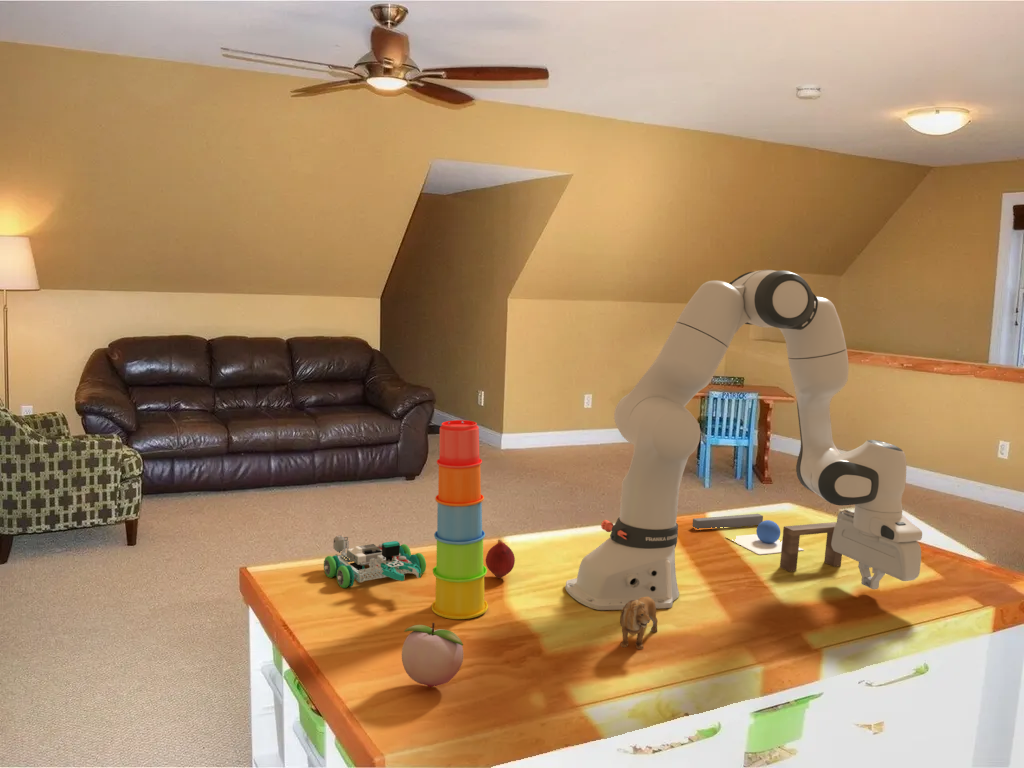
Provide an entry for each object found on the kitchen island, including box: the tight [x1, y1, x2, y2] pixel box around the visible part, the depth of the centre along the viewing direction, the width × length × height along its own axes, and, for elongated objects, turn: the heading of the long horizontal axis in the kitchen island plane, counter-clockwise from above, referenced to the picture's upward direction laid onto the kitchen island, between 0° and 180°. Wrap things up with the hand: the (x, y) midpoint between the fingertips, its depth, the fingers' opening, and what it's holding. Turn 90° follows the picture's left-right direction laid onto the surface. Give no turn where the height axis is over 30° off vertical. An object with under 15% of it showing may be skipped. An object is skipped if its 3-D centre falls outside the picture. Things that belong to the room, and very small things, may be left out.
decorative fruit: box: [401, 622, 464, 688], centre depth 127 cm, size 9×8×10 cm
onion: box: [485, 538, 516, 579], centre depth 174 cm, size 6×6×8 cm
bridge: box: [779, 521, 843, 572], centre depth 191 cm, size 3×14×9 cm, turn 113°
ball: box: [756, 519, 781, 544], centre depth 207 cm, size 6×6×6 cm
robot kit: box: [323, 535, 427, 589], centre depth 169 cm, size 19×25×9 cm
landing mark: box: [731, 533, 805, 556], centre depth 206 cm, size 13×13×1 cm
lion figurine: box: [619, 597, 659, 650], centre depth 148 cm, size 15×5×9 cm, turn 162°
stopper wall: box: [691, 513, 764, 529], centre depth 219 cm, size 20×2×2 cm, turn 113°
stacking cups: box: [431, 419, 489, 620], centre depth 156 cm, size 10×10×35 cm
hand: (869, 586), depth 176 cm, fingers closed
